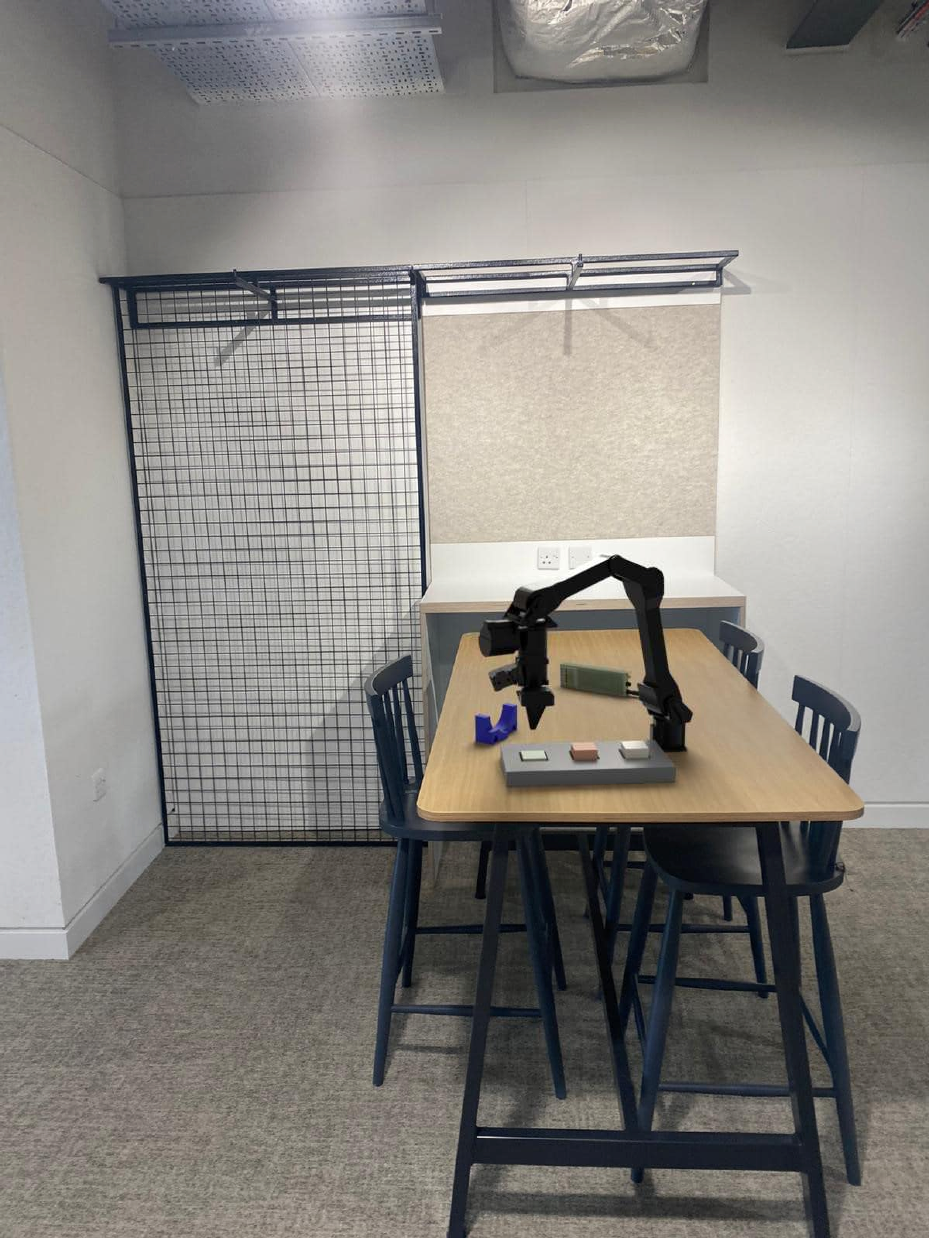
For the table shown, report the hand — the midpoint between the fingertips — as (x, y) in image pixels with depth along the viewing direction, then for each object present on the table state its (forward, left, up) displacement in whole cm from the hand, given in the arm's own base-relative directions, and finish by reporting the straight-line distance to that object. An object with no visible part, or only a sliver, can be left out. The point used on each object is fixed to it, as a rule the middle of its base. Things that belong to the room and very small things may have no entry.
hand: (532, 729), depth 169 cm
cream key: (-20, 0, -6) cm, 21 cm away
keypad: (-10, 0, -9) cm, 13 cm away
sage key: (0, 0, -7) cm, 7 cm away
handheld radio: (-25, -57, -9) cm, 63 cm away
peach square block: (-10, 0, -6) cm, 12 cm away
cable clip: (+5, -23, -9) cm, 25 cm away
